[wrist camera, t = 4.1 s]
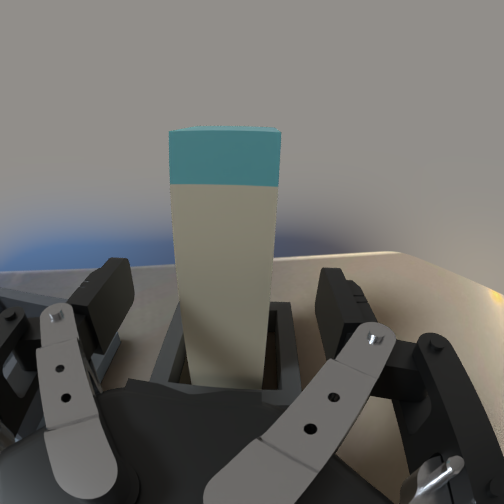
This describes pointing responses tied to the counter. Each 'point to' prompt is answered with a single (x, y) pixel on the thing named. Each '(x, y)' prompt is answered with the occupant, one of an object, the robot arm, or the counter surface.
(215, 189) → the plug
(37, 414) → the port
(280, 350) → the gray square frame
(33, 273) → the counter surface
